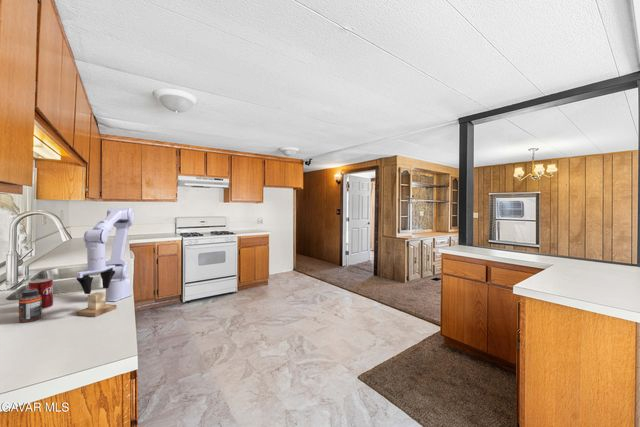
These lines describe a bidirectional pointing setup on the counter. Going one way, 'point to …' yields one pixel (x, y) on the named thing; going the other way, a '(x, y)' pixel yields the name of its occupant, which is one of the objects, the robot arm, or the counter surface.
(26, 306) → the supplement bottle
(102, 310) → the base
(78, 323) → the counter surface
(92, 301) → the beech block
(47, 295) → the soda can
